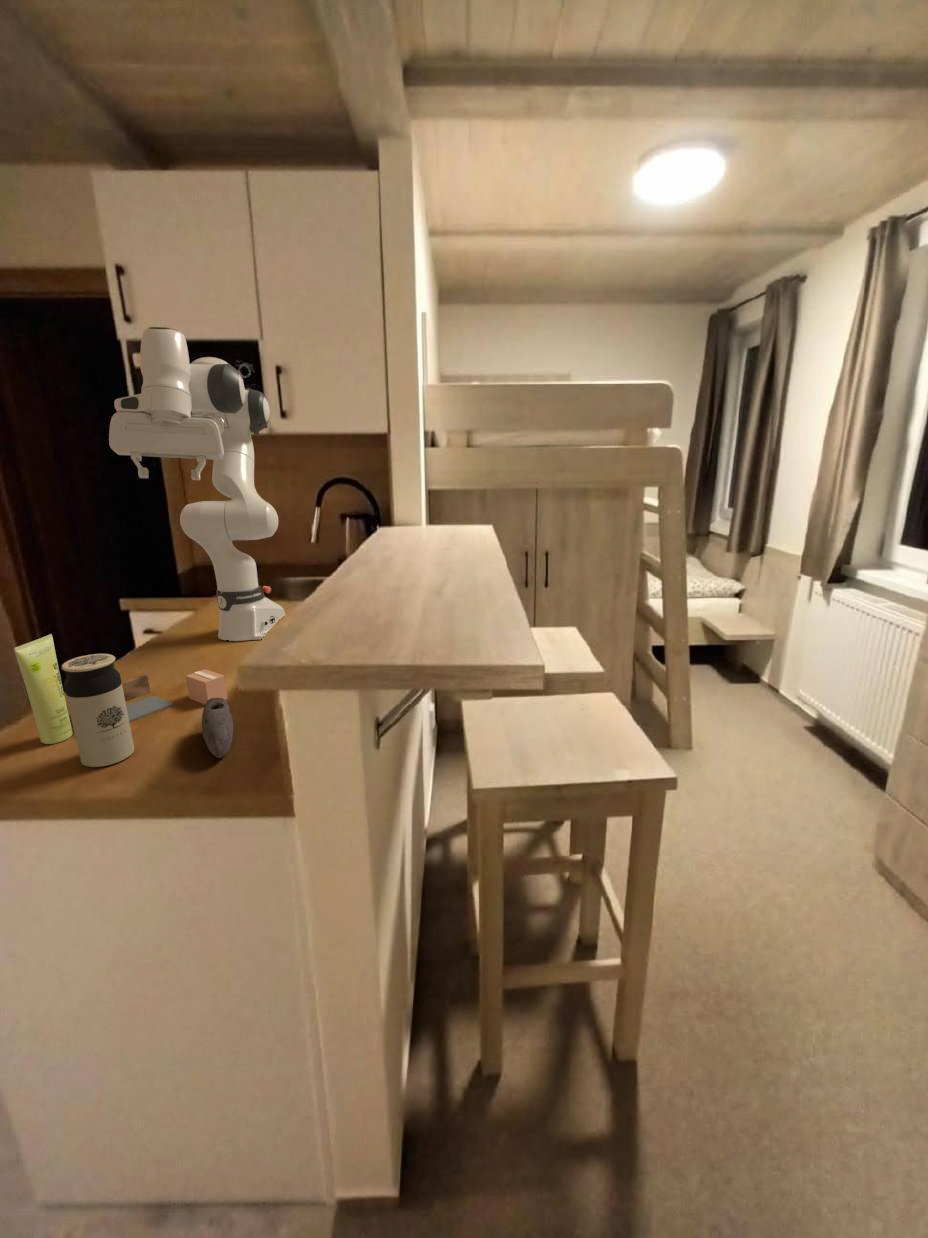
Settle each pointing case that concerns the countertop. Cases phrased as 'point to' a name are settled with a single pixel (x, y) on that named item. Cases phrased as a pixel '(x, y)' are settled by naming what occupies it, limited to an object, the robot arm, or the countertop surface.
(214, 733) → the perforated stone tool
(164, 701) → the slate pad
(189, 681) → the terracotta block
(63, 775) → the countertop surface
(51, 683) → the tube
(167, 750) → the countertop surface
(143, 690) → the walnut corner walls
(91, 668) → the travel mug
